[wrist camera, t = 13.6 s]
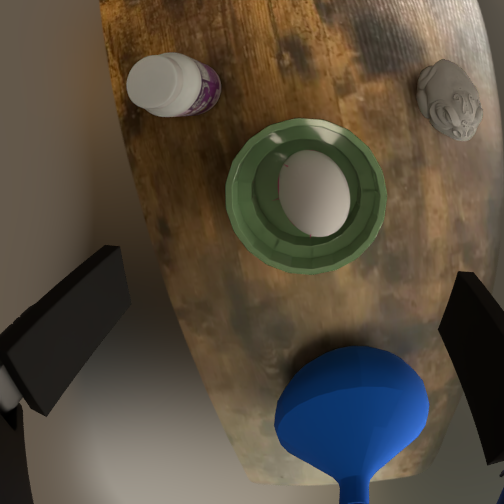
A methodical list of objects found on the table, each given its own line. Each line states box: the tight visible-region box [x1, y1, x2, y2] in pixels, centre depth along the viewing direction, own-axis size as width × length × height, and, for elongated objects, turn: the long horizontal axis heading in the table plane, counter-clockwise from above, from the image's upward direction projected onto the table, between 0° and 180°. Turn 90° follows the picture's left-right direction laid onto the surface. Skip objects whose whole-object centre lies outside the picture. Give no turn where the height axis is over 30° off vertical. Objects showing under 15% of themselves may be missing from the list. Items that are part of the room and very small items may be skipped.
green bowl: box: [225, 118, 387, 275], centre depth 27 cm, size 13×13×5 cm
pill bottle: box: [127, 52, 221, 117], centre depth 23 cm, size 5×5×10 cm
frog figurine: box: [416, 59, 483, 141], centre depth 20 cm, size 6×7×7 cm
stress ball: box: [275, 150, 350, 238], centre depth 27 cm, size 8×8×7 cm
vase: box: [274, 346, 429, 504], centre depth 30 cm, size 18×18×19 cm
